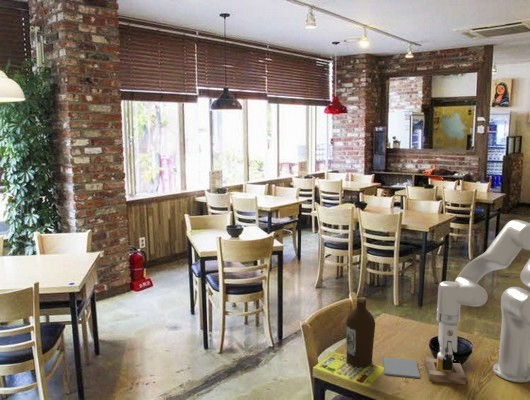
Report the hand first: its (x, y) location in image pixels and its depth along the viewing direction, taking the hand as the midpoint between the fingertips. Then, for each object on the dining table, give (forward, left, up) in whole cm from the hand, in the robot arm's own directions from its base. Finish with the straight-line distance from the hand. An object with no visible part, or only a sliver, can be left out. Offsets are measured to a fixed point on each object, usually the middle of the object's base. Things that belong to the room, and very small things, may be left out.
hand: (445, 363), depth 167 cm
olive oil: (+30, -3, -4) cm, 30 cm away
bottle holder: (0, 0, -4) cm, 4 cm away
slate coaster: (+15, -1, -4) cm, 16 cm away
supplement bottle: (0, 0, -4) cm, 4 cm away
